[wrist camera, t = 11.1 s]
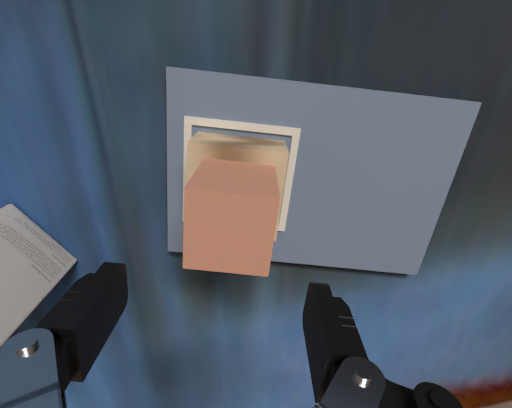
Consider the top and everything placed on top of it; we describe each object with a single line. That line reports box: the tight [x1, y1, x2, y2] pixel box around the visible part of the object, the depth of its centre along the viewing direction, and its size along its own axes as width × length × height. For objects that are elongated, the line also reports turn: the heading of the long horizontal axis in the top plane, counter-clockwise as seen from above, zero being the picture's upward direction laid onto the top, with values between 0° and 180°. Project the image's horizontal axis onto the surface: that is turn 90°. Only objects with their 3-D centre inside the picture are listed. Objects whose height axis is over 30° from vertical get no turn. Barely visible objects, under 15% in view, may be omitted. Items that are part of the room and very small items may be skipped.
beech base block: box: [187, 131, 289, 241], centre depth 24 cm, size 7×7×4 cm
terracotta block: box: [183, 158, 280, 277], centre depth 20 cm, size 5×5×6 cm
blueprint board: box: [166, 67, 482, 275], centre depth 27 cm, size 24×16×1 cm, turn 84°
